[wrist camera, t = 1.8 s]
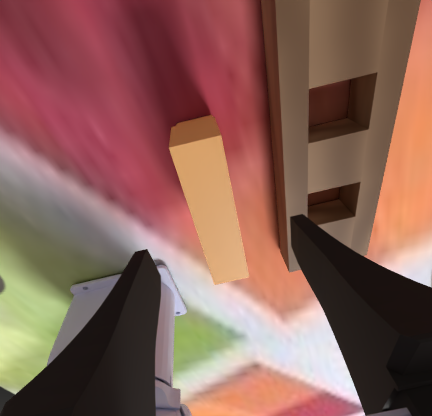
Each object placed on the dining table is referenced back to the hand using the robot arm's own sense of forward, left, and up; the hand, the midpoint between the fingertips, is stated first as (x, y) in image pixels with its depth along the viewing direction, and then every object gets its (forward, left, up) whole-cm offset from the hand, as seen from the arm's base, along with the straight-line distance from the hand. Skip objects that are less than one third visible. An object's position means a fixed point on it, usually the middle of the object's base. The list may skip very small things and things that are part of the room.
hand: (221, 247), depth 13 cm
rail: (+8, 0, -8) cm, 11 cm away
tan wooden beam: (0, 0, -8) cm, 8 cm away
